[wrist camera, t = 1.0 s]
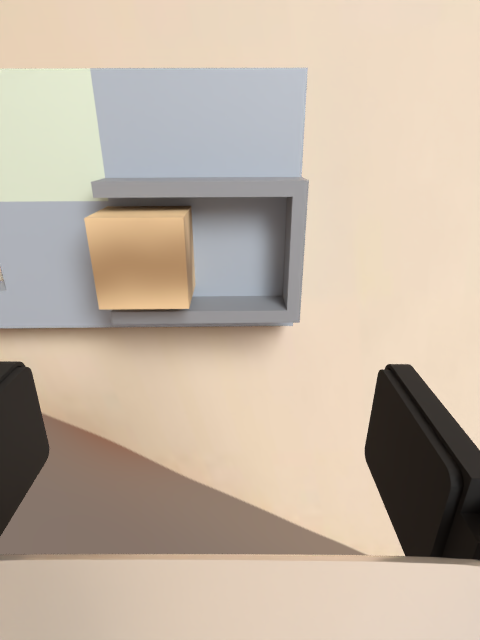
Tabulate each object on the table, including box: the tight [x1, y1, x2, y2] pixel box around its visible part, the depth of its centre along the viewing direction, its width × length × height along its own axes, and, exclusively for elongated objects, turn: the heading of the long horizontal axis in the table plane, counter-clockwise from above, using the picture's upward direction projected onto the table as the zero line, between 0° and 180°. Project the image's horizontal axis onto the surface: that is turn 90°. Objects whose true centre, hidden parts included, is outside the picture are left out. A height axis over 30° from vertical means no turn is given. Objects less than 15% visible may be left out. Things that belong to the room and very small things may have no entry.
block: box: [84, 206, 195, 310], centre depth 23 cm, size 5×5×4 cm
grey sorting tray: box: [0, 68, 309, 328], centre depth 23 cm, size 15×25×4 cm, turn 90°
